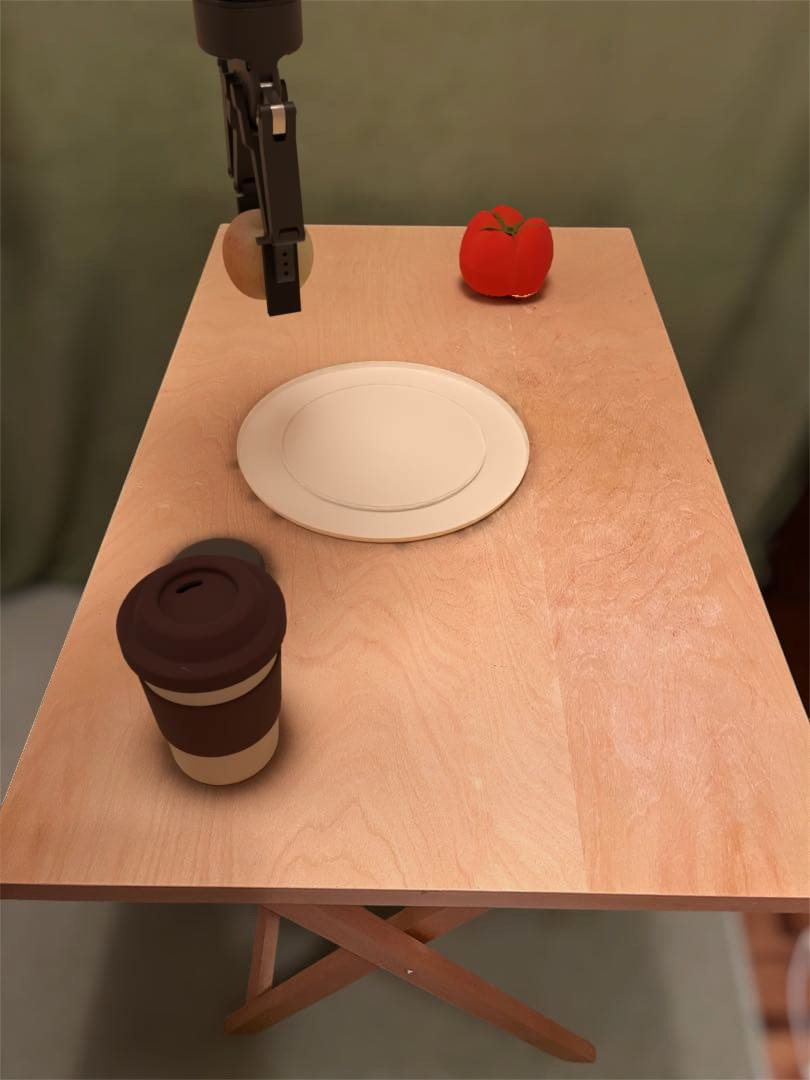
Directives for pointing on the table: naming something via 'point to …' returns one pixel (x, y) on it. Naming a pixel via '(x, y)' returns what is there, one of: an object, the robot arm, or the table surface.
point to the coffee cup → (209, 661)
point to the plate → (383, 451)
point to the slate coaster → (224, 550)
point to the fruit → (256, 255)
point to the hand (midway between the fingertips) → (271, 289)
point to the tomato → (505, 253)
